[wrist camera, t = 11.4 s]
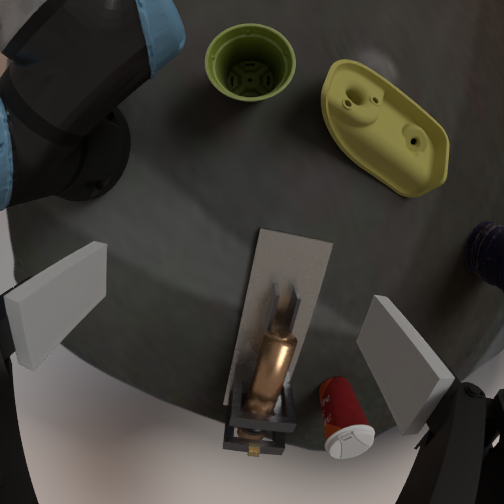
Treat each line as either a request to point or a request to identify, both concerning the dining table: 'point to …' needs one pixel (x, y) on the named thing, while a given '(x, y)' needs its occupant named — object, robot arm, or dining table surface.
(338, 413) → the paper cup
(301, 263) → the rail
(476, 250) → the storage jar
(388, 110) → the plastic component
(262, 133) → the dining table surface
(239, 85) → the plant pot
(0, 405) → the robot arm
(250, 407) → the copper tube
